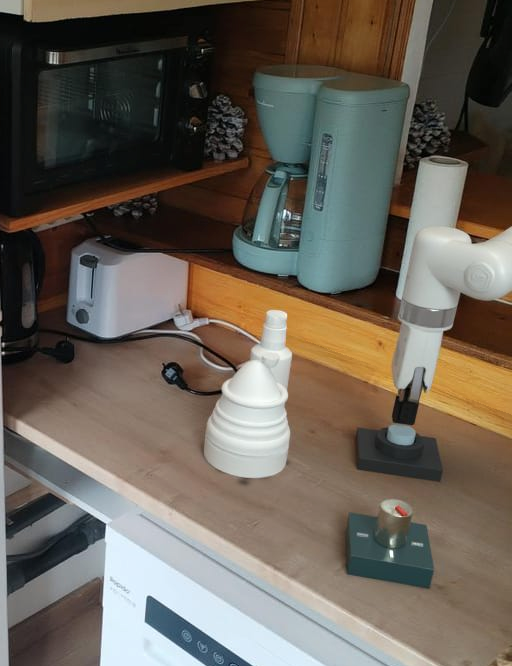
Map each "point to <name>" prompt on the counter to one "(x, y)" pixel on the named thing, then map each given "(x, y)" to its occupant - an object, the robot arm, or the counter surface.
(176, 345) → the counter surface
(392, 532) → the dial
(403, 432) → the light blue button cap
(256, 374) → the honey pot
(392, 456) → the button base
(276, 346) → the spray bottle
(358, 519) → the dial panel
